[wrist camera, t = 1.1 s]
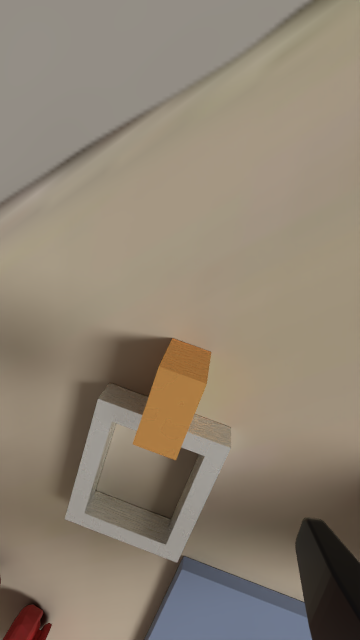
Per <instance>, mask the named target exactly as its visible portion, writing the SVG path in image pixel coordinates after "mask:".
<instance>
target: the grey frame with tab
mask: <svg viewBox="0 0 360 640" xmlns="http://www.w3.org/2000/svg"><path fill="white" fill-rule="evenodd" d="M210 357H211V352H210V351H207V350H204V349H201V348H199V347H196V346H193V345H190V344H188V343H185V342H182V341H179V340H176V339H174V338H172V340H171V342H170V344H169V346H168V348H167V350H166V353H165V355H164V357H163V359H162V361H161V363H160V365H159V368H158V371H157V374H156V377H155V380H154V383H153V385H152V388H151V391H150V394H149V397H147V396H144V395H141V394H139V393H136V392H133V391H131V390H128V389H125V388H122V387H120V386H117V385H114V384H112V383H109V384H108V386H107V387H106V388H105V390H104V391H103V393H102V394H101V395H100V397H99V398H98V401H97V404H96V408H95V412H94V415H93V419H92V422H91V426H90V430H89V433H88V437H87V440H86V444H85V448H84V451H83V455H82V459H81V462H80V466H79V469H78V473H77V477H76V480H75V484H74V487H73V491H72V495H71V498H70V502H69V506H68V509H67V513H66V516H65V520H68V521H71V522H73V523H76V524H78V525H81V526H83V527H86V528H89V529H91V530H94V531H96V532H99V533H102V534H104V535H107V536H109V537H112V538H114V539H117V540H120V541H122V542H125V543H127V544H130V545H133V546H135V547H138V548H140V549H143V550H145V551H148V552H151V553H153V554H156V555H158V556H161V557H164V558H166V559H169V560H171V561H174V562H176V563H177V562H178V560H179V558H180V556H181V553H182V551H183V549H184V547H185V545H186V543H187V541H188V538H189V536H190V534H191V532H192V530H193V528H194V526H195V523H196V521H197V519H198V517H199V515H200V513H201V511H202V509H203V506H204V504H205V502H206V500H207V498H208V496H209V494H210V491H211V489H212V487H213V485H214V483H215V481H216V479H217V476H218V474H219V472H220V470H221V468H222V466H223V464H224V461H225V459H226V457H227V455H228V453H229V451H230V449H231V427H228V426H225V425H223V424H220V423H217V422H215V421H212V420H209V419H206V418H204V417H201V416H198V415H196V414H195V412H196V409H197V407H198V404H199V402H200V399H201V397H202V394H203V392H204V389H205V387H206V384H207V378H208V371H209V364H210ZM116 423H117V424H120V425H123V426H125V427H128V428H131V429H133V430H136V431H137V433H136V436H135V439H134V442H133V445H136V446H139V447H141V448H144V449H147V450H149V451H152V452H155V453H157V454H160V455H163V456H165V457H168V458H171V459H173V460H176V459H177V456H178V454H179V451H180V449H181V448H184V449H187V450H189V451H192V452H195V453H197V454H199V455H198V458H197V460H196V462H195V465H194V467H193V469H192V472H191V474H190V476H189V479H188V481H187V483H186V486H185V488H184V490H183V493H182V495H181V497H180V500H179V502H178V504H177V507H176V509H175V511H174V514H173V516H172V518H171V519H168V518H166V517H163V516H160V515H158V514H155V513H152V512H150V511H147V510H145V509H142V508H139V507H137V506H134V505H132V504H129V503H126V502H124V501H121V500H118V499H116V498H113V497H111V496H108V495H105V494H103V493H100V492H98V491H95V490H96V487H97V484H98V480H99V477H100V474H101V471H102V467H103V464H104V461H105V458H106V455H107V451H108V448H109V445H110V442H111V438H112V435H113V432H114V429H115V425H116Z"/></svg>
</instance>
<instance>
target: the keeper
mask: <svg viewBox="0 0 360 640" xmlns="http://www.w3.org/2000/svg"><path fill="white" fill-rule="evenodd" d="M144 640H312V638H311V633H310V629H309V624H308V619H307V614H306V608H305V603H304V602H301V601H299V600H296V599H294V598H291V597H288V596H286V595H283V594H281V593H278V592H275V591H273V590H270V589H268V588H265V587H262V586H260V585H257V584H255V583H252V582H249V581H247V580H244V579H242V578H239V577H237V576H234V575H231V574H229V573H226V572H224V571H221V570H218V569H216V568H213V567H211V566H208V565H205V564H203V563H200V562H198V561H195V560H193V559H190V558H187V557H185V556H184V557H183V559H182V561H181V563H180V565H179V567H178V569H177V572H176V574H175V576H174V578H173V580H172V582H171V584H170V586H169V589H168V591H167V593H166V595H165V597H164V599H163V601H162V603H161V605H160V608H159V610H158V612H157V614H156V616H155V618H154V620H153V622H152V624H151V627H150V629H149V631H148V633H147V635H146V637H145V639H144Z"/></svg>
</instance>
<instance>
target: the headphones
mask: <svg viewBox="0 0 360 640" xmlns="http://www.w3.org/2000/svg"><path fill="white" fill-rule="evenodd" d="M0 583H1V579H0ZM42 615H43V610H41V609H40V608H38V607H36V606H35V605H33V604H32V605H27V606H26V607H24V608H23V609H22V610H21V612H20V613H19V614H18V616H17V617H16V618H15V620H14V622H13V623H12V625H11V627H10V628H9V630H8V632H7V633H6V635H5V637H4V638H3V640H46V638H47V635H48V633H49V631H50V628H51V626H52V624H50V623H48V624H45V625H44V626H43V628H42V629H41V630H40V629H39V628H40V626H41V625H40V619H41V617H42Z"/></svg>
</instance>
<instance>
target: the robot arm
mask: <svg viewBox="0 0 360 640" xmlns="http://www.w3.org/2000/svg"><path fill="white" fill-rule="evenodd" d="M296 555H297V561H298V566H299V572H300V578H301V584H302V590H303V596H304V602H305V608H306V614H307V619H308V624H309V629H310V633H311V638H312V640H360V562H359V561H358V560H357V559H356V558H355V557H354V555H353V554H352V553H351V552H350V551H349V550H348V549H347V547H346V546H345V545H344V544H343V543H342V542H341V541H340V539H339V538H338V537H337V536H336V535H335V534H334V533H333V531H332V530H331V529H330V528H329V527H328V526H327V524H326V523H325V522H324V521H322V520H321V519H317V518H304V519H303V521H302V524H301V527H300V530H299V533H298V535H297V538H296Z"/></svg>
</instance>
